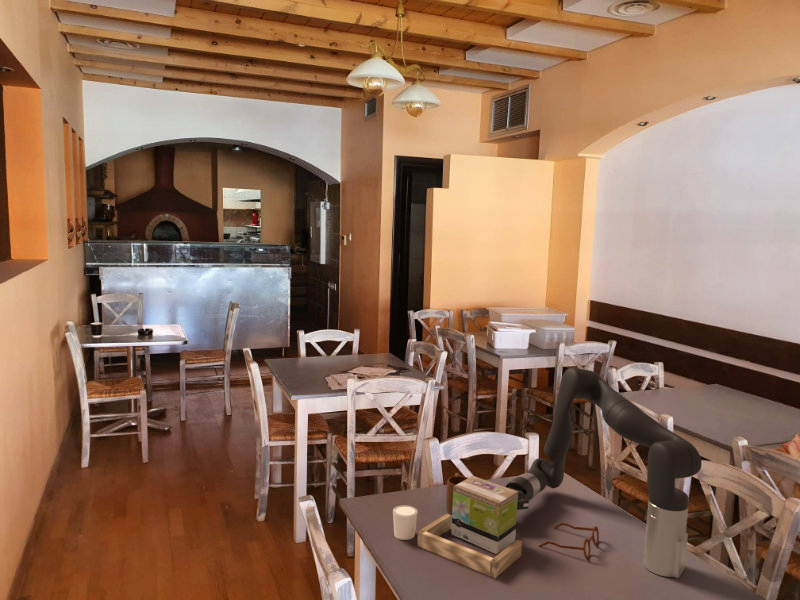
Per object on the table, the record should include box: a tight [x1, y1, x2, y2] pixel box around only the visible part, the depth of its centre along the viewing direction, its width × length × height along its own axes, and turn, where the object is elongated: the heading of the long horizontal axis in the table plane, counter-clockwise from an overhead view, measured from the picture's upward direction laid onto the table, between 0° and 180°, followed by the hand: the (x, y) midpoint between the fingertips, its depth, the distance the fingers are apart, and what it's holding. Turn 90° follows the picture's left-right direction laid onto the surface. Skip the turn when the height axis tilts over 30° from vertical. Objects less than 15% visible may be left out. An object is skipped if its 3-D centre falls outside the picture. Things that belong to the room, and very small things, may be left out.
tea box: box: [451, 475, 518, 555], centre depth 172 cm, size 15×10×15 cm, turn 50°
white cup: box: [392, 505, 419, 541], centre depth 173 cm, size 7×7×7 cm
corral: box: [416, 513, 523, 579], centre depth 166 cm, size 24×14×4 cm, turn 52°
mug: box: [445, 472, 469, 515], centre depth 191 cm, size 12×8×9 cm, turn 1°
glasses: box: [537, 522, 600, 560], centre depth 171 cm, size 13×13×5 cm
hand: (494, 508), depth 175 cm, fingers closed
